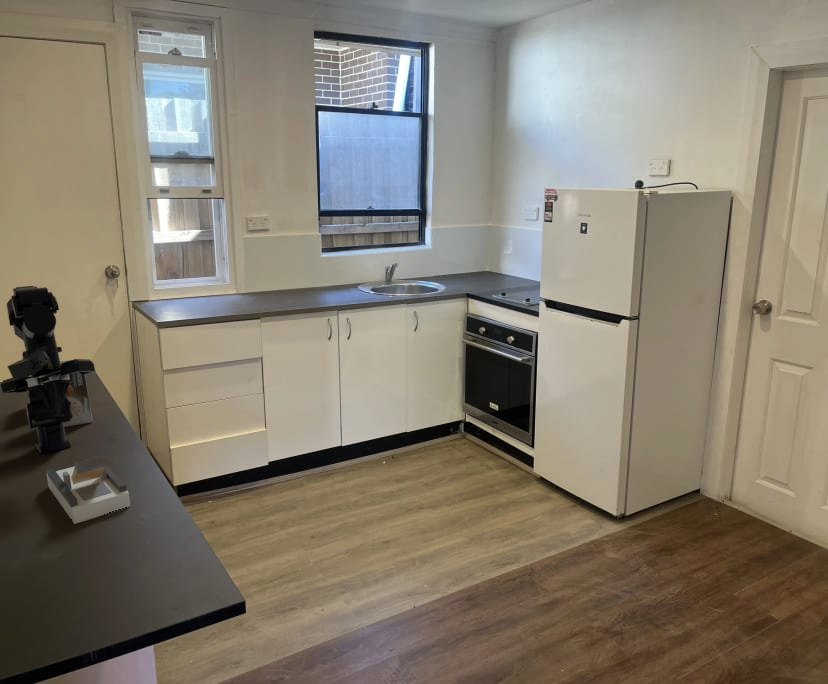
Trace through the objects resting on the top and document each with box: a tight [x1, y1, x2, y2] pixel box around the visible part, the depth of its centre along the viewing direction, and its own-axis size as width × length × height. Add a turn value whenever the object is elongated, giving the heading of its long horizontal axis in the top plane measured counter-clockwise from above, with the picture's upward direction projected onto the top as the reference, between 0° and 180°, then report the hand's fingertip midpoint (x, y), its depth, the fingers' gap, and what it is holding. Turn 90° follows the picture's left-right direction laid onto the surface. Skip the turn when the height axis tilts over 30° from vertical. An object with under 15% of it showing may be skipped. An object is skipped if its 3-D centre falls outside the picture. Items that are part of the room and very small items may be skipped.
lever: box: [71, 454, 108, 485], centre depth 128 cm, size 2×5×8 cm
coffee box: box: [60, 359, 93, 428], centre depth 171 cm, size 9×6×16 cm
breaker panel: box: [46, 464, 131, 525], centre depth 131 cm, size 20×10×6 cm, turn 41°
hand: (56, 415), depth 140 cm, fingers closed
